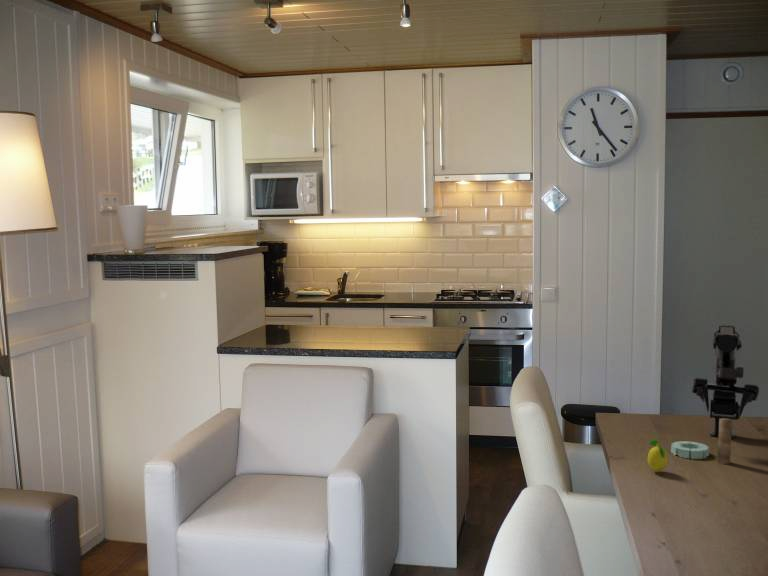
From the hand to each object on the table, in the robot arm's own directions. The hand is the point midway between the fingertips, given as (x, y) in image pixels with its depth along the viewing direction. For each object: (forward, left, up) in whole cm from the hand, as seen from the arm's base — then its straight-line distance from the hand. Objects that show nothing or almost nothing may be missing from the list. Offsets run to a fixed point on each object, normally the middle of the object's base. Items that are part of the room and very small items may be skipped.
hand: (724, 413), depth 253 cm
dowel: (+8, +3, -13) cm, 15 cm away
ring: (+6, -8, -13) cm, 16 cm away
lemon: (+30, -8, -13) cm, 34 cm away
